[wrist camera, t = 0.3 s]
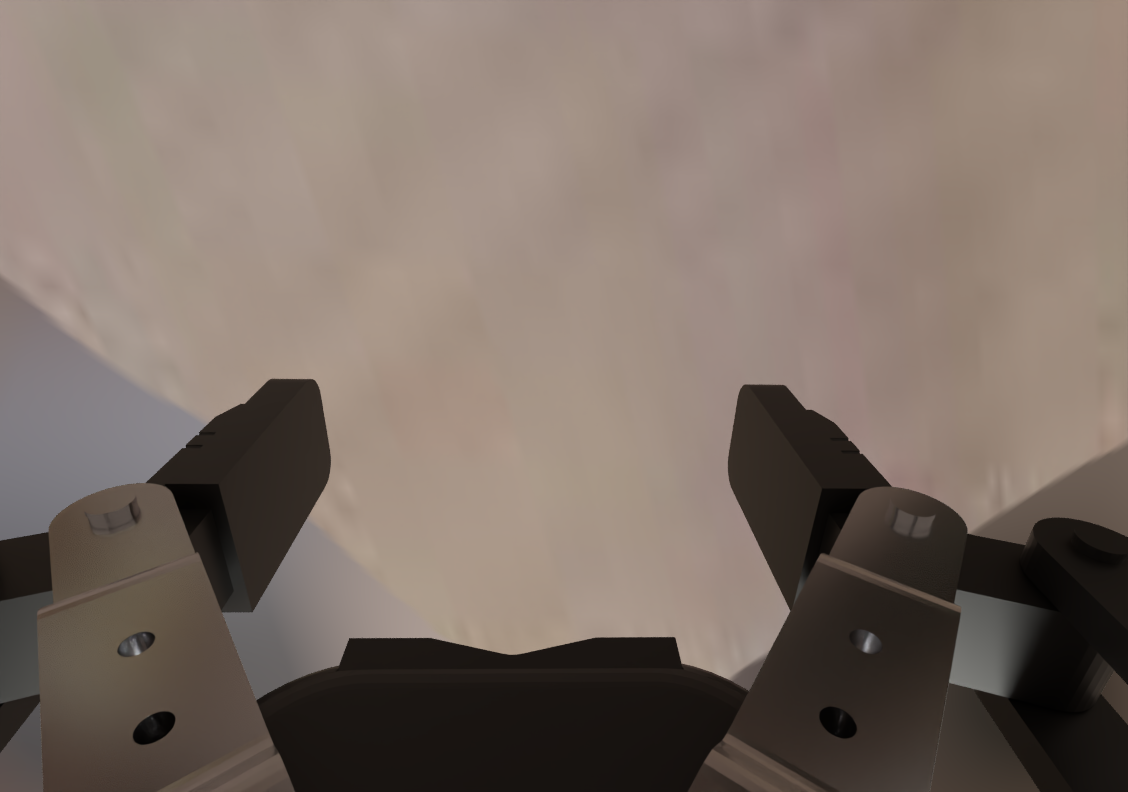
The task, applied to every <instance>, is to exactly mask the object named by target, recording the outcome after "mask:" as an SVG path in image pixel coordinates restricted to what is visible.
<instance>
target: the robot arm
mask: <svg viewBox="0 0 1128 792" xmlns="http://www.w3.org/2000/svg"><path fill="white" fill-rule="evenodd" d="M859 452H860V451H859V449H858V448H857V447H856V446H855V445H854V444H853V443H852V442H851V441H848V437H847V436H846V435H845V434H844V433H843V432H842V431H841V429H840V428H839V427H838V426H837V425H836V424H835V423H834V422H832V421H830V420H829V419H827V418H825V417H823V416H822V415H820V414H818V413H817V412H815V411H813V410H806V409H805V408H804V407H803V406H802V405H801V403H800V402H799V401H798V400H797V399H796V397H795V396H794V395H793V394H792V393H791V392H790V390H789V389H788V388H787V387H786V386H785V385H743V386H742V388H741V390H740V392H739V395H738V400H737V407H736V413H735V419H734V425H733V431H732V438H731V444H730V450H729V457H728V475H729V481H730V485H731V488H732V490H733V492H734V494H735V496H736V499H737V501H738V503H739V505H740V507H741V509H742V511H743V513H744V515H745V517H746V519H747V521H748V524H749V526H750V528H751V530H752V532H753V534H754V536H755V538H756V540H757V542H758V544H759V546H760V549H761V551H762V553H763V555H764V557H765V559H766V561H767V563H768V565H769V567H770V569H771V571H772V574H773V576H774V578H775V580H776V582H777V584H778V586H779V588H780V590H781V592H782V594H783V596H784V598H785V601H786V603H787V605H788V607H789V609H790V613H789V615H788V617H787V619H786V621H785V623H784V625H783V627H782V628H781V630H780V632H779V634H778V636H777V638H776V640H775V642H774V644H773V646H772V648H771V650H770V652H769V653H768V655H767V657H766V659H765V661H764V663H763V665H762V667H761V669H760V671H759V673H758V675H757V677H756V679H755V681H754V682H753V684H752V686H751V688H750V690H749V691H748V690H746V689H745V688H743V687H741V686H739V685H737V684H735V683H734V682H732V681H730V680H728V679H726V678H723V677H721V676H719V675H716V674H714V673H712V672H709V671H706V670H703V669H700V668H697V667H694V666H690V665H685V664H681V660H680V656H679V651H678V647H677V643H676V639H675V637H621V638H592V639H587V640H583V641H578V642H574V643H569V644H565V645H560V646H556V647H551V648H546V649H542V650H537V651H533V652H528V653H524V654H518V655H507V654H501V653H497V652H492V651H487V650H483V649H478V648H474V647H469V646H464V645H460V644H455V643H450V642H446V641H441V640H437V639H432V638H349V641H348V643H347V646H346V649H345V651H344V654H343V657H342V660H341V662H340V665H339V666H335V667H331V668H327V669H324V670H321V671H317V672H314V673H311V674H308V675H306V676H303V677H301V678H298V679H296V680H294V681H291V682H289V683H287V684H285V685H283V686H281V687H279V688H277V689H275V690H273V691H271V692H269V693H267V694H266V695H264V696H263V697H261V698H259V699H258V700H256V699H255V696H254V694H253V691H252V689H251V686H250V683H249V681H248V678H247V676H246V673H245V670H244V668H243V665H242V663H241V661H240V658H239V655H238V653H237V650H236V647H235V645H234V642H233V640H232V637H231V635H230V632H229V629H228V627H227V624H226V622H225V619H224V617H223V614H222V612H253V610H254V609H255V607H256V605H257V604H258V602H259V600H260V598H261V597H262V595H263V593H264V591H265V590H266V588H267V586H268V585H269V583H270V581H271V579H272V578H273V576H274V574H275V572H276V571H277V569H278V567H279V566H280V564H281V562H282V560H283V559H284V557H285V555H286V553H287V552H288V550H289V548H290V547H291V545H292V543H293V541H294V540H295V538H296V536H297V534H298V533H299V531H300V529H301V528H302V526H303V524H304V522H305V521H306V519H307V517H308V516H309V514H310V512H311V510H312V509H313V507H314V505H315V503H316V502H317V500H318V498H319V497H320V495H321V493H322V491H323V490H324V488H325V486H326V484H327V481H328V478H329V474H330V466H331V456H330V448H329V442H328V436H327V430H326V424H325V418H324V412H323V406H322V400H321V394H320V390H319V387H318V384H317V383H316V381H315V380H313V379H270V380H269V381H267V382H266V383H265V384H264V385H263V386H262V387H261V388H260V389H259V390H258V391H257V392H256V393H255V394H254V395H253V396H252V397H251V398H250V399H249V400H248V401H247V402H246V403H245V404H240V405H238V406H236V407H234V408H232V409H230V410H228V411H226V412H224V413H222V414H220V415H218V416H216V417H215V418H214V419H213V420H212V421H211V422H210V423H209V424H207V425H206V426H205V427H204V428H203V429H202V430H201V431H200V432H199V435H196V436H195V437H194V438H193V439H192V440H191V441H190V442H188V443H187V445H186V448H182V449H181V450H180V451H179V452H178V453H177V454H176V455H175V456H174V457H173V458H171V459H170V460H169V462H167V463H166V464H165V465H164V466H163V467H162V468H161V469H160V470H159V471H158V472H157V473H156V474H155V475H154V476H152V477H151V478H150V479H149V480H148V481H147V482H146V483H136V484H127V485H121V486H116V487H112V488H108V489H105V490H102V491H99V492H96V493H94V494H91V495H88V496H86V497H84V498H82V499H80V500H78V501H76V502H75V503H73V504H71V505H69V506H68V507H67V508H65V509H64V510H62V511H61V512H60V513H59V514H58V515H57V516H56V517H55V518H54V519H53V521H52V522H51V524H50V526H49V532H47V533H41V534H36V535H30V536H24V537H19V538H13V539H7V540H2V541H0V752H1V751H2V750H3V748H4V747H5V746H6V745H7V743H8V742H9V741H10V740H11V738H12V737H13V736H14V734H15V733H16V732H17V731H18V729H19V728H20V726H21V725H22V724H23V723H24V722H25V720H26V719H27V718H28V716H29V715H30V714H31V713H32V711H33V710H34V708H35V707H36V706H37V705H38V703H39V702H40V717H41V743H42V744H41V745H42V771H43V772H42V773H43V792H930V788H931V782H932V776H933V770H934V765H935V759H936V754H937V748H938V742H939V736H940V731H941V725H942V719H943V714H944V707H945V702H946V696H947V691H948V684H949V683H953V684H957V685H961V686H964V687H968V688H972V689H974V691H975V693H976V695H977V696H978V698H979V699H980V701H981V702H982V704H983V705H984V707H985V708H986V710H987V712H988V713H989V714H990V716H991V718H992V719H993V721H994V722H995V724H996V725H997V726H998V728H999V730H1000V731H1001V733H1002V734H1003V736H1004V737H1005V739H1006V740H1007V742H1008V743H1009V745H1010V746H1011V748H1012V750H1013V751H1014V753H1015V754H1016V755H1017V757H1018V759H1019V760H1020V762H1021V763H1022V765H1023V766H1024V768H1025V769H1026V771H1027V772H1028V774H1029V775H1030V777H1031V778H1032V780H1033V781H1034V783H1035V784H1036V786H1037V788H1038V789H1039V790H1040V792H1128V725H1127V724H1126V722H1125V721H1124V720H1123V719H1122V718H1121V717H1120V715H1119V714H1118V713H1117V712H1116V711H1115V710H1114V709H1113V707H1112V706H1111V705H1110V704H1109V703H1108V702H1107V700H1106V699H1105V698H1104V697H1103V696H1102V695H1101V692H1102V691H1103V689H1104V687H1105V686H1106V684H1107V682H1108V680H1109V679H1110V677H1111V675H1112V674H1113V672H1114V670H1115V671H1116V673H1117V674H1118V675H1119V676H1120V677H1121V678H1122V679H1123V680H1124V681H1125V682H1126V683H1127V684H1128V537H1125V536H1124V535H1122V534H1120V533H1117V532H1115V531H1113V530H1110V529H1107V528H1105V527H1102V526H1099V525H1096V524H1093V523H1089V522H1085V521H1081V520H1075V519H1069V518H1047V519H1043V520H1040V521H1038V522H1037V523H1036V524H1035V525H1034V527H1033V529H1032V531H1031V533H1030V536H1029V538H1028V540H1027V543H1026V545H1021V544H1016V543H1011V542H1006V541H1001V540H995V539H990V538H985V537H980V536H975V535H971V534H967V526H966V524H965V522H964V520H963V519H962V518H961V517H960V516H959V515H958V513H956V512H955V511H954V510H953V509H951V508H950V507H949V506H947V505H945V504H944V503H942V502H940V501H938V500H937V499H934V498H932V497H930V496H928V495H925V494H922V493H919V492H916V491H912V490H909V489H904V488H897V487H892V486H891V485H890V484H889V483H888V482H887V480H886V479H885V478H884V477H883V476H882V475H881V474H880V473H879V472H878V471H877V469H876V468H875V467H874V466H873V465H872V464H871V463H870V462H869V461H868V459H867V458H866V457H865V456H864V455H863V454H860V453H859Z"/></svg>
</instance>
